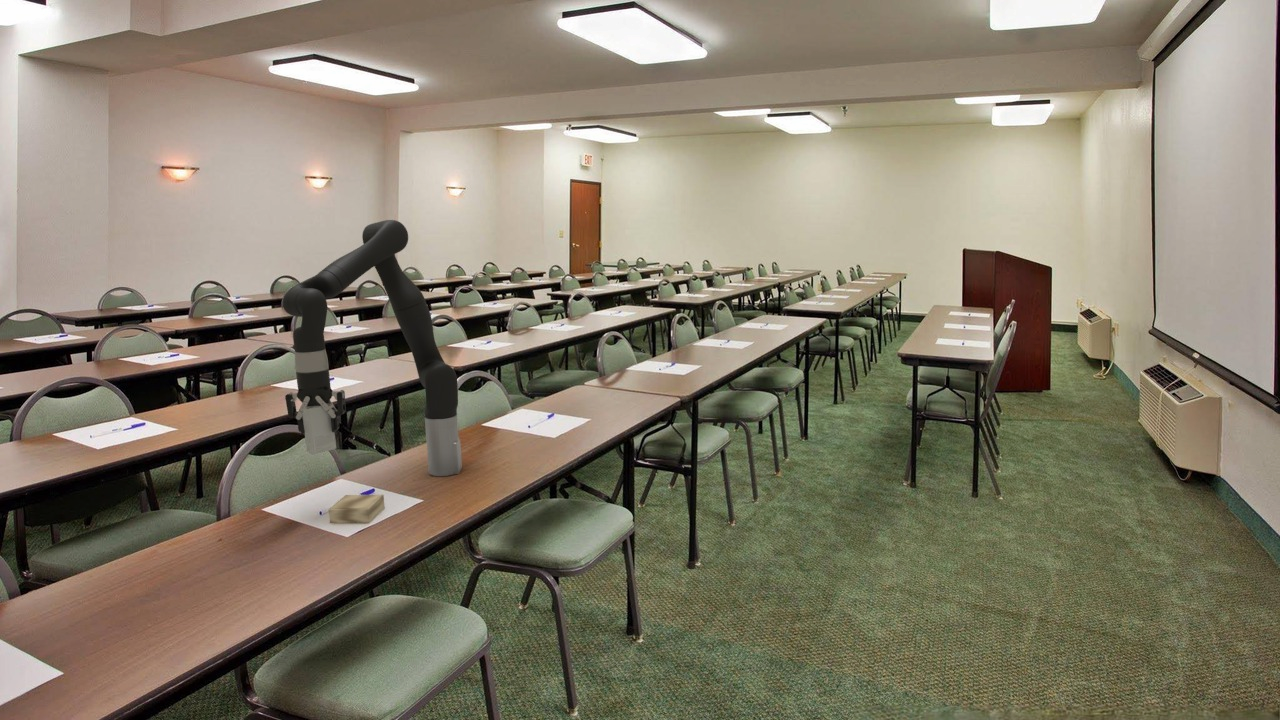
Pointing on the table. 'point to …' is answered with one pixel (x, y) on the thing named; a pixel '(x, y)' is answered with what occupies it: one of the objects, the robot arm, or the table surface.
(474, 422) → the table surface
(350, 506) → the block
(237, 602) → the table surface
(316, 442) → the skincare box
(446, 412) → the robot arm
